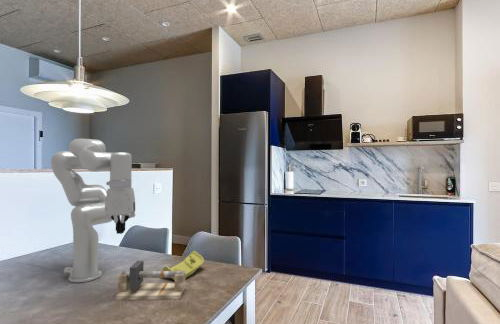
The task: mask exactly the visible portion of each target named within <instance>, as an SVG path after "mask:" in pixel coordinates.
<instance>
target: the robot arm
mask: <svg viewBox="0 0 500 324" xmlns="http://www.w3.org/2000/svg"><path fill="white" fill-rule="evenodd" d="M106 148H107V147H106V144H105V143H104V142H103V141H102V140H99V139H94V138H74V139H72V141H70V143H69V145H68V149H69V150H62V151H58V152H55V153H54V154H53V155H52V157H51V158H50V165H51V170H52V173H53V174H54V176H55V177H56V179H57V180H58V182H59V183H60V184H61V186H62V188H63V189H62V190H63V191H64V194H65V196H66V198H67V199H66V200H68V203H69V204H70V205H71V206H73V209H72V210H71V212H70V220H71V225H72V237H73V238H72V239H73V240H72V245H73V246H72V267H71V266H65V267H64V269H63V274H69V275H68V281H69V282H70V283H85V282H86V283H87V282H91V281H94V280H97V279H98V278H100V277H101V276H102V274H103V273H102V272H103V271H102V270H100V269H99V233H98V231H96V229H95V228H94V227H93V226H96V225H97V226H98V225H102V224H107V223H111V222H112V221H113V222H114V223H115V232H116V235H117V234H121V235H122V234H124V233H125V231H126V222H127V221H128V220H129V219H132V218H135V217H136V213H135V212H136V197H135V192H134V191H135V190H134V187H132V166H133V165H132V162H133V161H132V159H133V158H132V154H131V153H129V152H123V151H122V152H121V151H120V152H117V151H116V152H108V151H107V152H106V150H107V149H106ZM75 170H88V171H90V172H109V181H106V186H108V187H109V188H107V189H106V188H105V187H104V186H103V185H100V184H86V183H85V181H84V180H83V177H82V176H81V175H80V174H79V173H77V172H76V171H75Z"/></svg>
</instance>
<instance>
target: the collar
mask: <svg viewBox="0 0 500 324" xmlns="http://www.w3.org/2000/svg"><path fill="white" fill-rule="evenodd" d="M144 264H145V263H144V260H136V261H135V262H134V263H133V264H132V265H131V266H130V267H129V271H130V285H129V290H136V289H137V288H138V287H139V286H140V284H141V283H144V278H138V273H139V271H144Z"/></svg>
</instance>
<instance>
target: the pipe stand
mask: <svg viewBox="0 0 500 324" xmlns="http://www.w3.org/2000/svg"><path fill="white" fill-rule="evenodd" d="M138 278H143V279H172V278H175V280H174V282H142V283H141V284H140V286H139V287H138V288H137V289H136V290H129V285H130V270H123V271H121V273H120V274H118V275H117V294H116V295H115V301H131V300H132V301H134V300H135V301H140V300H142V301H143V300H144V301H146V300H148V301H149V300H153V301H154V300H155V301H157V300H162V301H163V300H166V301H167V300H170V301H171V300H181V297H182V295H183V293H184V291H185V289H186V278H185V271H162V270H161V271H160V270H153V271H151V270H145V271H144V270H143V271H139V273H138Z"/></svg>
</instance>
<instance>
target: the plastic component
mask: <svg viewBox="0 0 500 324" xmlns="http://www.w3.org/2000/svg"><path fill="white" fill-rule="evenodd" d="M204 261H205V260H204V257H203V256H202V255H201V254H200V253H198V252H197V251H195V250H194V251H191V253H190V254H188V255H187V257H185V259H183V260H182V261H180V262H179V263H178V264H176V265H174V266H172V267H171V268H170V267H169V266H167V265H166V266H164V267H163V268H162V270H161V271H185V279H187V278H188V277H190V276H191V275H194V274H195V272H196V271H197V270H198V269H199V268H200V267H201V266H202V265H203V263H204ZM171 279H172V280H173V281H175V278H171Z"/></svg>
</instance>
